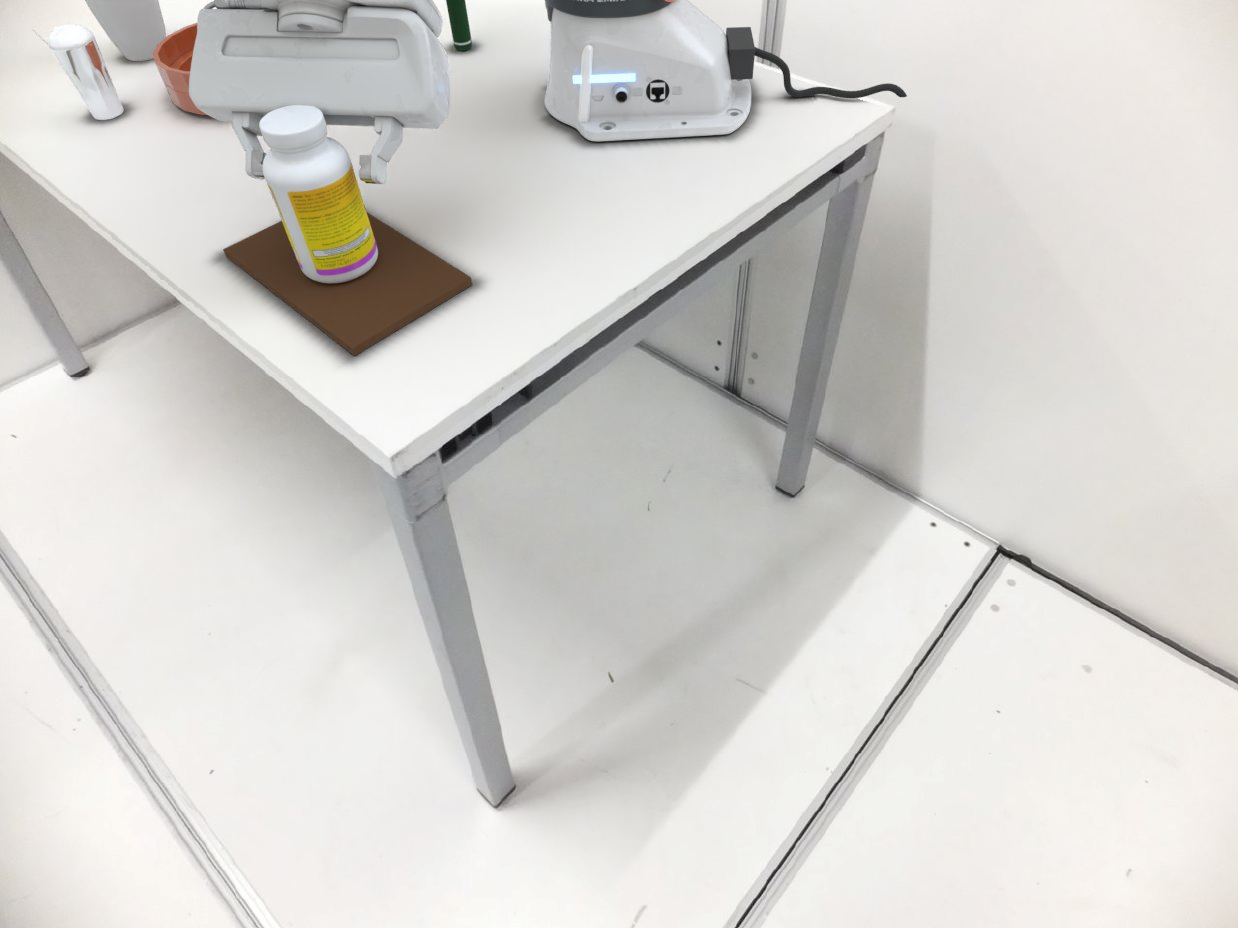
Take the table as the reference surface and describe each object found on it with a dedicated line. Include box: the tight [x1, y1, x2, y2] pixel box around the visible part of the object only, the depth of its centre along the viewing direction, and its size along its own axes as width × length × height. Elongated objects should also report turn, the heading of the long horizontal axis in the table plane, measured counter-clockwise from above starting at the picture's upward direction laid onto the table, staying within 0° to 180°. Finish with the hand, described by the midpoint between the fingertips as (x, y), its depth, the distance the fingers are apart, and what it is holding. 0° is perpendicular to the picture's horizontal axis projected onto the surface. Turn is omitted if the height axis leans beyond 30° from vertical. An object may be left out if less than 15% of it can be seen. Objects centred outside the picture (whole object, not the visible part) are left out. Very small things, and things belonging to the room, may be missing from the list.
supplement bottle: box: [259, 105, 378, 283], centre depth 66 cm, size 7×7×13 cm
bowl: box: [153, 22, 208, 116], centre depth 94 cm, size 16×16×5 cm
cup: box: [84, 0, 167, 62], centre depth 99 cm, size 8×8×10 cm
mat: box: [222, 212, 473, 357], centre depth 71 cm, size 20×12×1 cm, turn 46°
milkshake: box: [31, 23, 125, 121], centre depth 89 cm, size 4×5×10 cm
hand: (315, 180), depth 65 cm, fingers open, 8 cm apart
